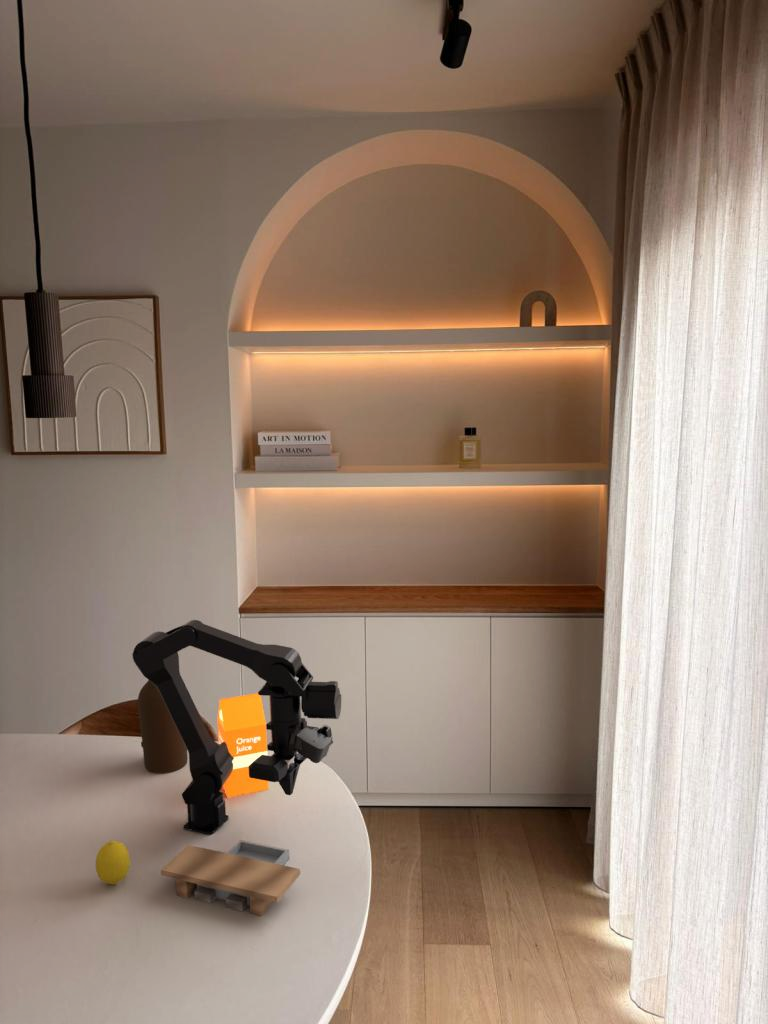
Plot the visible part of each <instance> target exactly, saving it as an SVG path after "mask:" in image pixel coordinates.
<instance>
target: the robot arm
mask: <svg viewBox="0 0 768 1024" xmlns="http://www.w3.org/2000/svg"><path fill="white" fill-rule="evenodd" d="M188 647H192V648H195V649H198V650H201V651H204V652H206V653H209V654H211V655H214V656H217V657H220V658H223V659H225V660H228V661H231V662H233V663H236V664H238V665H241V666H244V667H246V668H248V669H249V670H251V671H252V672H253V673H254V674H255V675H256V676H257V677H258V678H260V679H262V680H263V681H265V683H264V685H262V687H261V688H259V691H258V692H257V693H258V695H261V696H269V713H270V719H269V722H266V731H267V730H268V731H270V738H271V742H269V743H267V751H270V752H271V751H272V752H273V754H272V755H268V756H267V755H261V756H260V757H259V758H257V759H256V760H255V761H254V762H253V763H251V764H250V765H249V766H248V767H249V777H250V778H254V779H259V780H265V781H268V782H272V783H278V784H279V786H280V787H281V789H282V790H283V792H284V794H285V795H287V796H291V795H293V793H294V789H295V787H296V786H295V785H296V783H297V782H296V781H297V777H298V773H299V770H300V768H301V765H302V763H303V762H304V761H305V760H307V759H308V760H310V762H312V763H314V764H319V763H321V761H322V760H323V759H324V758H325V757H326V756H328V752H329V749H330V747H331V745H332V744H333V743H334V740H333V734H332V728H331V727H330V725H329V726H328V725H327V724H324V725H322V726H321V727H318V726H310V725H308V721H307V720H306V718H305V717H307V718H308V719H320V720H321V719H323V720H324V719H327V720H338V719H340V715H341V711H342V694H341V692H340V688H339V686H338V685H339V683H338V681H335V680H330V681H313V680H314V676H313V675H312V674H311V672H310V671H309V670H308V668H307V667H306V666H305V665H304V663H303V662H302V658H301V655H300V654H299V652H298V651H297V650H296V649H295V648H293V647H290V646H286V645H285V646H284V645H278V644H262V643H257V642H254V641H252V640H249V639H245V638H243V637H240V636H237V635H235V634H232V633H230V632H227V631H225V630H221V629H218V628H216V627H213V626H211V625H208V624H205V623H203V622H202V621H201V620H197V619H191V620H190V621H187V622H186V623H184V624H182V625H179V626H176V627H174V628H172V629H170V630H168V631H166V632H164V631H159V630H158V631H155V632H152V633H151V634H149V635H148V636H147V637H146V638H144V639H143V640H141V641H140V642H138V643H137V644H136V645H135V647H133V648H134V649H133V653H132V654H131V655H132V661H133V662H134V664H135V667H136V668H138V670H139V671H140V672H141V675H142V676H143V677H144V678H145V679H147V681H148V680H150V681H151V682H152V683H154V684H155V685H156V686H157V688H158V690H159V692H160V694H161V696H162V698H163V700H164V702H165V704H166V706H167V708H168V711H169V713H170V715H171V717H172V719H173V721H174V723H175V725H176V727H177V729H178V731H179V733H180V735H181V737H182V739H183V741H184V744H185V746H186V748H187V754H188V763H189V764H188V766H189V772H190V775H191V778H192V779H191V782H190V783H189V784H188V786H187V787H186V788H185V789H184V791H182V793H181V796H182V800H183V802H184V804H185V805H186V809H187V822H186V823H184V824H183V830H188V831H192V832H198V833H203V834H206V835H211V834H213V833H215V832H216V831H217V830H218V829H219V828H220V827H221V826H222V825H223V824H224V823H225V822H226V821H228V820H229V818H230V817H229V816H230V815H228V814H227V813H226V810H227V809H226V801H225V800H224V792H222V791H220V790H222V788H223V785H224V784H225V782H226V781H227V779H228V778H229V776H230V775H231V773H232V770H233V763H232V761H233V759H234V757H233V756H232V755H231V754H230V753H229V751H228V748H227V744H226V743H225V742H222V743H221V744H219V742H217V741H215V740H214V739H213V738H212V737H211V736H210V733H209V731H208V729H207V727H206V725H205V723H204V721H203V719H202V716H201V715H200V712H199V710H198V709H197V706H196V704H195V702H194V700H193V698H192V696H191V694H190V692H189V690H188V687H187V686H186V684H185V681H184V679H183V678H182V676H181V672H180V659H179V657H180V656H179V652H180V651H182V650H183V649H186V648H188ZM296 678H297V679H296ZM302 713H303V717H302Z"/></svg>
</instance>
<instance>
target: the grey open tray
mask: <svg viewBox="0 0 768 1024" xmlns="http://www.w3.org/2000/svg"><path fill="white" fill-rule="evenodd" d="M227 853H229V854H233V855H238V856H243V857H247V858H252V859H256V860H261V861H266V862H270V863H275V864H279V865H284V866H286V864H287V863H286V862H289V860H290V849H285V848H283V847H282V848H281V847H276V846H271V845H267V844H262V843H258V842H253V841H249V840H248V841H247V840H243V839H239V840H238V841H237V843H236V844H235V845H233V846H232V847H231V848H230V849H229V851H227ZM199 886H201V887H205V888H209V889H213V890H215V899H219V900H223V901H226V898H227V897H228V896H229V895H230V894H234V895H239V896H243V897H247V906H249V907H250V896H246V895H242V894H238V893H234V892H229V891H225V890H221V889H217V888H212V887H208V886H204V885H200V884H197V888H198V887H199Z"/></svg>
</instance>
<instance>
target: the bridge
mask: <svg viewBox="0 0 768 1024" xmlns="http://www.w3.org/2000/svg"><path fill="white" fill-rule="evenodd" d="M300 875H301V869H300V868H297V867H293V866H287V865H279V864H275V863H270V862H266V861H261V860H256V859H252V858H247V857H243V856H238V855H233V854H229V853H228V852H223V851H219V850H214V849H209V848H205V847H200V846H195V845H191V844H187V845H186V846H185V847H184V848H183V849H181V850H180V851H179V852H178V853H177V854H176V855H175V856H174V857H173V858H172V859H171V860H170V861H169V862H168V863H167V864H166V865H164V866H163V867H162V868H161V869H160V876H162V877H166V878H170V879H175V883H176V884H175V885H176V896H177V897H183V898H187V899H188V898H189V896H191V895H192V894H193V893H194V900H195V901H200V902H203V903H207V904H212V902H214V901H215V900H216V898H215V890H213V889H209V888H205V887H201V886H199V887H198V888H197V884H200V885H204V886H208V887H212V888H217V889H221V890H225V891H229V892H234V893H238V894H242V895H246V896H250V906H249V911H250V914H251V915H255V916H260V917H262V916H263V914H264V913H266V911H267V910H268V908H269V907H270V906H271V905H272V904H273V903H278V902H280V900H281V899H282V898H283V897H284V896H285V894H286V892H287V891H288V890H289V889H290V888H291V887H292V885H293V883H295V881H296V880H297V879H298V878H299V877H300ZM247 906H248V905H247V897H243V896H239V895H234V894H230V895H229V896H228V897H227V898H226V900H225V908H227V909H232V910H236V911H240V912H244V910H245V909H246V908H247Z"/></svg>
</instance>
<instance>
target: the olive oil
mask: <svg viewBox="0 0 768 1024" xmlns="http://www.w3.org/2000/svg"><path fill="white" fill-rule="evenodd" d="M137 709H138V717H139V725H140V733H141V735H140V736H141V741H140V744H141V745H140V746H141V749H142V752H143V763H144V768H145V770H146V771H148V772H150V773H153V774H169V773H173V772H176V771H178V770H180V769H182V768H184V767H185V766H186V765H187V764H188V761H189V758H188V750H187V748H186V746H185V744H184V741H183V739H182V737H181V735H180V733H179V731H178V729H177V727H176V725H175V723H174V721H173V719H172V717H171V715H170V713H169V711H168V708H167V706H166V704H165V702H164V700H163V698H162V696H161V694H160V692H159V690H158V688H157V686H156V685H155V684H154V683H152V682H151V681H150V680H148V679H147V682H145V684H144V685H143V686H141V688H140V691H139V693H138V697H137Z"/></svg>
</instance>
